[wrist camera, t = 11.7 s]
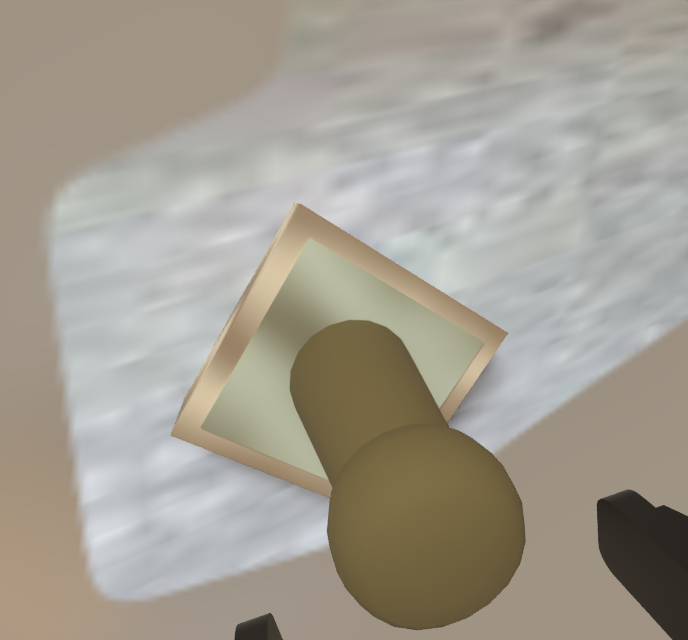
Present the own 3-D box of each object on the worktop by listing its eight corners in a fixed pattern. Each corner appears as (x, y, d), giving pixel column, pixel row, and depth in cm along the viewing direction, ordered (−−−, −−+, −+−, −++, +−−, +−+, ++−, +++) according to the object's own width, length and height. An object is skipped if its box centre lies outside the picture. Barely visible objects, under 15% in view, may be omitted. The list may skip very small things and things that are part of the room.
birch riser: (294, 202, 21) (301, 204, 17) (472, 313, 25) (510, 334, 21) (184, 398, 23) (169, 437, 19) (365, 474, 27) (383, 520, 23)
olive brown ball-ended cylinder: (428, 331, 20) (606, 476, 10) (394, 442, 22) (518, 671, 11) (304, 308, 19) (359, 448, 8) (277, 428, 20) (294, 677, 10)
